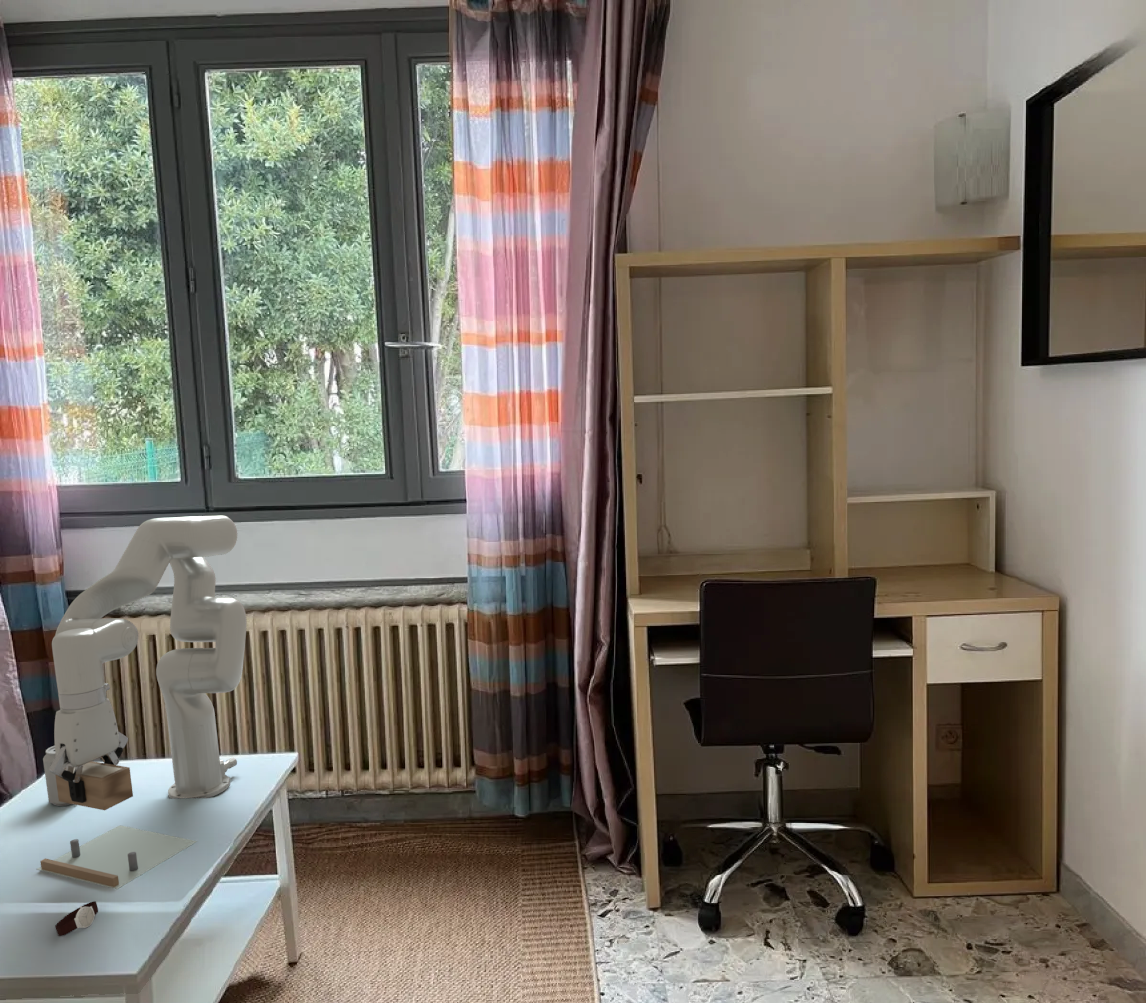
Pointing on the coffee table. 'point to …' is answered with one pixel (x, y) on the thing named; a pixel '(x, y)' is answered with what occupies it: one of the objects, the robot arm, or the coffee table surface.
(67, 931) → the watch
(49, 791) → the can
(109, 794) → the wooden box
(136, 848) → the wall board
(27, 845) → the coffee table surface
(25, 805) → the coffee table surface
